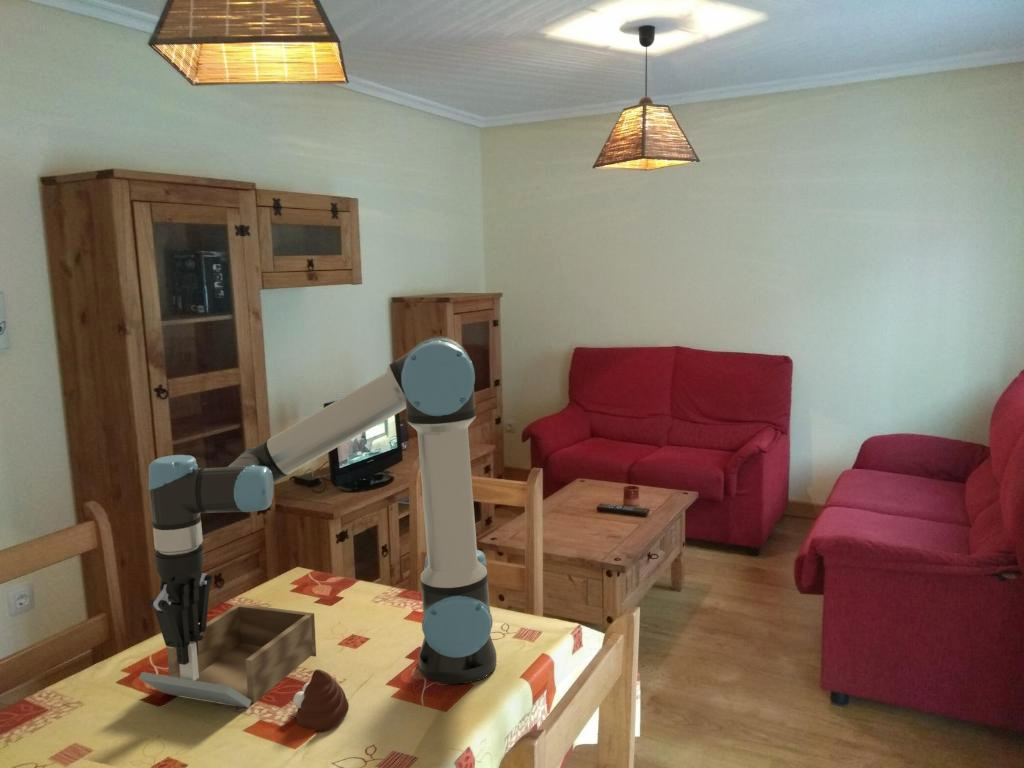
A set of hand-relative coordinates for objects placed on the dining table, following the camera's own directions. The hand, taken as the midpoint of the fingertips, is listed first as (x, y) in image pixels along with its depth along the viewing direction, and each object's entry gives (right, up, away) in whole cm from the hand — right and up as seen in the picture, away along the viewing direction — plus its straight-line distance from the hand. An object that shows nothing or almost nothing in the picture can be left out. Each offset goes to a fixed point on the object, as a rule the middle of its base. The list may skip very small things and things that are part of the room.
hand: (189, 678), depth 136 cm
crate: (+5, -5, +15) cm, 17 cm away
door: (+1, -5, +4) cm, 7 cm away
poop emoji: (+23, -7, -1) cm, 24 cm away
